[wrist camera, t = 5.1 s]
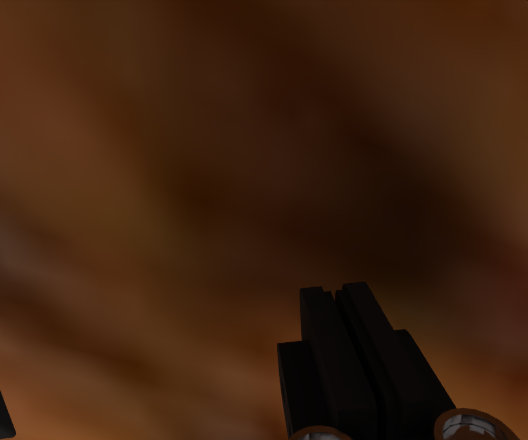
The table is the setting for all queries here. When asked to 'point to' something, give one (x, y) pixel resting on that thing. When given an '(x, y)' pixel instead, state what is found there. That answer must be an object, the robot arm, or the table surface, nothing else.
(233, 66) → the table surface
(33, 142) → the table surface
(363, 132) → the table surface
